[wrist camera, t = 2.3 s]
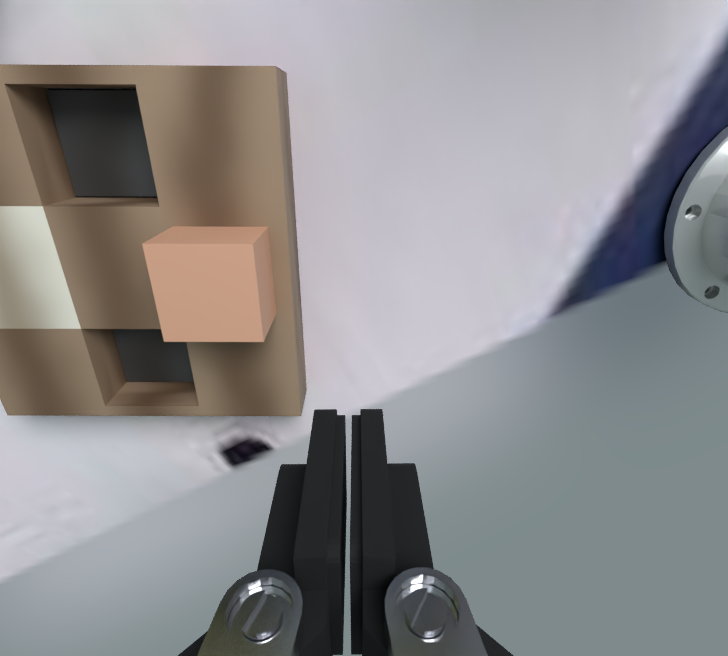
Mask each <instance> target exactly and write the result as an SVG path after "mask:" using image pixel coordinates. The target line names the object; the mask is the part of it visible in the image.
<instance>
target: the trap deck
mask: <svg viewBox="0 0 728 656" xmlns="http://www.w3.org/2000/svg"><path fill="white" fill-rule="evenodd" d="M48 88H118V89H136V90H48ZM77 196H158V197H77ZM173 226H192V227H268V230H269V240H270V251H271V262H272V273H273V284H274V295H275V306H276V315H275V318H274V320H273V322H272V324H271V327H270V329H269V331H268V333H267V336H266V338H265V340H264V342H164V340H163V335H162V331H161V326H160V322H159V317H158V313H157V308H156V304H155V299H154V295H153V290H152V286H151V281H150V277H149V272H148V268H147V263H146V259H145V254H144V250H143V245H142V243H144V242H146V241H148V240H150V239H151V238H153V237H155V236H157V235H158V234H160V233H162V232H164V231H166V230H167V229H169V228H171V227H173ZM305 395H306V375H305V359H304V343H303V328H302V312H301V296H300V281H299V265H298V249H297V233H296V218H295V202H294V186H293V171H292V155H291V139H290V124H289V108H288V92H287V77H286V72H284V71H283V70H281V69H279V68H278V67H276V66H153V65H0V399H1V402H2V404H3V406H4V408H5V411H6V413H7V415H92V416H301V414H302V409H303V404H304V399H305Z"/></svg>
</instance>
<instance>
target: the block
mask: <svg viewBox="0 0 728 656" xmlns="http://www.w3.org/2000/svg"><path fill="white" fill-rule="evenodd" d="M142 245H143V250H144V254H145V259H146V263H147V268H148V272H149V277H150V281H151V286H152V290H153V295H154V299H155V304H156V308H157V313H158V317H159V322H160V326H161V331H162V335H163V340H164V342H264V340H265V338H266V336H267V333H268V331H269V329H270V327H271V324H272V322H273V320H274V318H275V315H276V306H275V295H274V284H273V273H272V262H271V251H270V240H269V230H268V227H192V226H173V227H171V228H169V229H167V230H166V231H164V232H162V233H160V234H158V235H157V236H155V237H153V238H151V239H150V240H148V241H146V242H144V243H142Z"/></svg>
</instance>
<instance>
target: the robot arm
mask: <svg viewBox="0 0 728 656" xmlns="http://www.w3.org/2000/svg"><path fill="white" fill-rule="evenodd" d="M664 247H665V256H666V260H667V264H668V267H669V270H670V272H671V274H672V276H673V277H674V279H675V281H676V283H677V284H678V285H679V286H680V287H681V288H682V289H683V290H684V291H685V292H686V293H687V294H688V295H689V296H691V297H693V298H694V299H696V300H697V301H699V302H701V303H703V304H704V305H707V306H709V307H711V308H713V309H716V310H718V311H722V312H727V313H728V127H726V128H725V129H724V130H722V131H721V132H720V133H719V134H718V135H717V136H716V137H715V138H714V139H713V140H712V141H711V142H710V143H709V144H708V145H707V147H706V148H705V149H704V150H703V151H702V152H701V153H700V155H699V156H698V157H697V159H696V160H695V161H694V163H693V164H692V165H691V167H690V168H689V169H688V171H687V172H686V174H685V176H684V178H683V179H682V181H681V183H680V185H679V187H678V189H677V191H676V192H675V195H674V197H673V200H672V203H671V206H670V209H669V212H668V214H667V220H666V226H665V232H664ZM345 434H346V433H345V415H337V410H336V409H329V410H314V416H313V423H312V430H311V437H310V444H309V451H308V458H307V464H291V465H290V464H282V465H281V467H280V470H279V474H278V478H277V483H276V487H275V492H274V497H273V501H272V506H271V510H270V514H269V519H268V524H267V528H266V533H265V538H264V542H263V546H262V551H261V555H260V560H259V564H258V569H257V571H255V572H252V573H249V574H247V575H245V576H244V577H242V578H241V579H239V580H237V581H236V582H235V583H234V584H233V585H232V586H231V587H230V588H229V589H228V590H227V592H226V594H225V595H224V597H223V599H222V601H221V602H220V604H219V607H218V609H217V611H216V613H215V616H214V618H213V620H212V623H211V625H210V628H209V629H208V631H207V632H206V633H205V634H204V635H202V636H201V637H200V638H199V639H198V640H196V641H195V642H194V643H193V644H192V645H190V646H189V647H188V648H187V649H185V650H184V651H183V652H182V653H180V654H179V655H178V656H333V655H342V654H343V627H344V626H343V625H344V588H345V548H346V547H345V546H346V507H347V501H346V500H347V497H346V495H347V492H346V435H345ZM350 585H351V586H350V590H351V591H350V592H351V593H350V594H351V654H362V656H513V655H512V654H511V653H510V652H508V651H507V650H506V649H505V648H504V647H502V646H501V645H500V644H499V643H497V642H496V641H495V640H494V639H493V638H491V637H490V636H489V635H488V634H487V633H486V632H484V631H483V630H482V629H481V628H480V627H478V626H477V625H476V624H475V621H474V619H473V616H472V613H471V611H470V608H469V605H468V603H467V600H466V598H465V597H464V594H463V592H462V591H461V589H460V587H459V586H458V585H457V584H456V583H455V582H454V581H453V580H452V579H451V578H450V577H448V576H447V575H445V574H443V573H442V572H440V571H438V570H434V568H433V562H432V557H431V551H430V545H429V539H428V533H427V528H426V523H425V516H424V510H423V505H422V499H421V493H420V487H419V481H418V475H417V470H416V466H415V464H414V463H412V464H411V463H410V464H409V463H405V464H404V463H403V464H387V456H386V445H385V435H384V422H383V412H382V409H361V415H352V451H351V520H350Z"/></svg>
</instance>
